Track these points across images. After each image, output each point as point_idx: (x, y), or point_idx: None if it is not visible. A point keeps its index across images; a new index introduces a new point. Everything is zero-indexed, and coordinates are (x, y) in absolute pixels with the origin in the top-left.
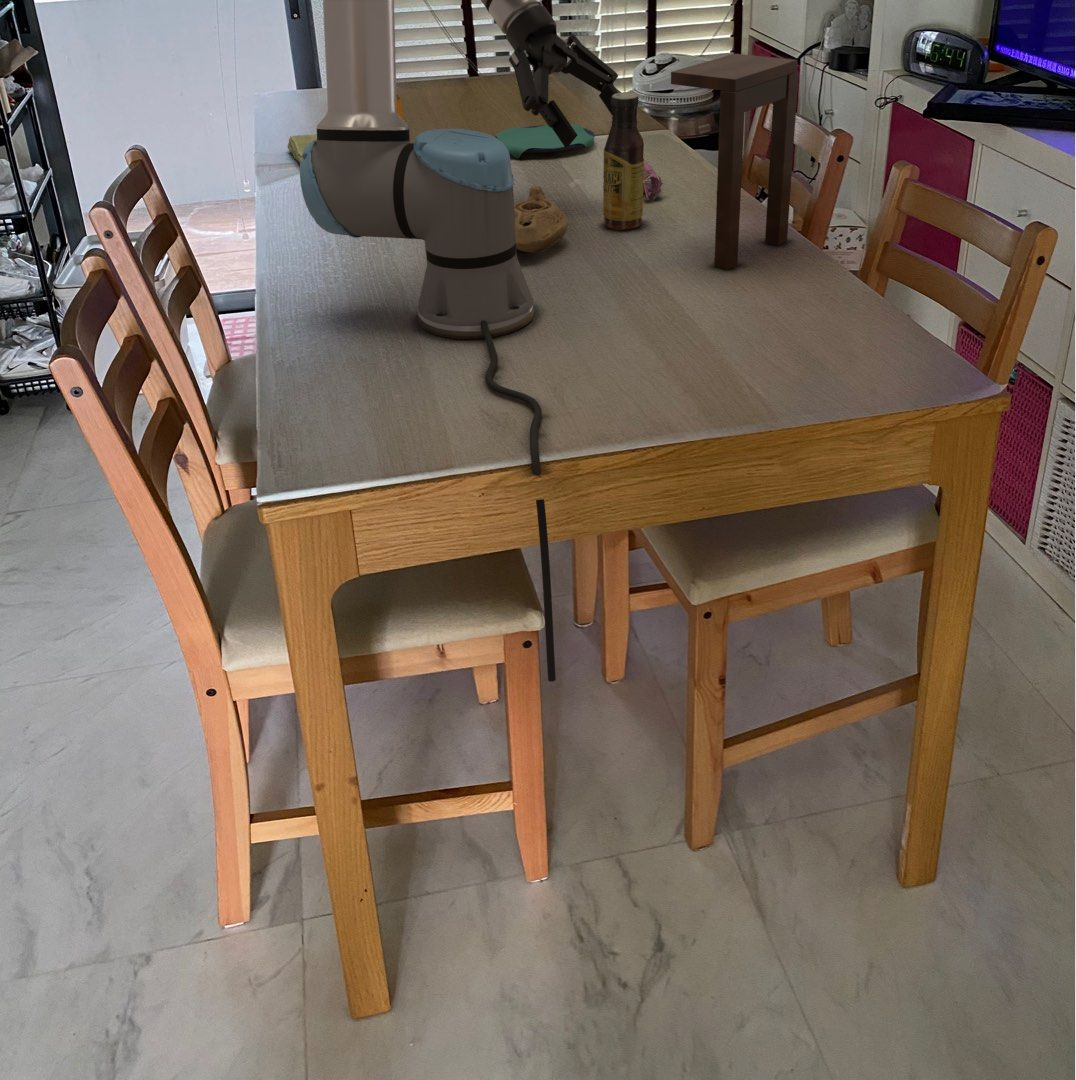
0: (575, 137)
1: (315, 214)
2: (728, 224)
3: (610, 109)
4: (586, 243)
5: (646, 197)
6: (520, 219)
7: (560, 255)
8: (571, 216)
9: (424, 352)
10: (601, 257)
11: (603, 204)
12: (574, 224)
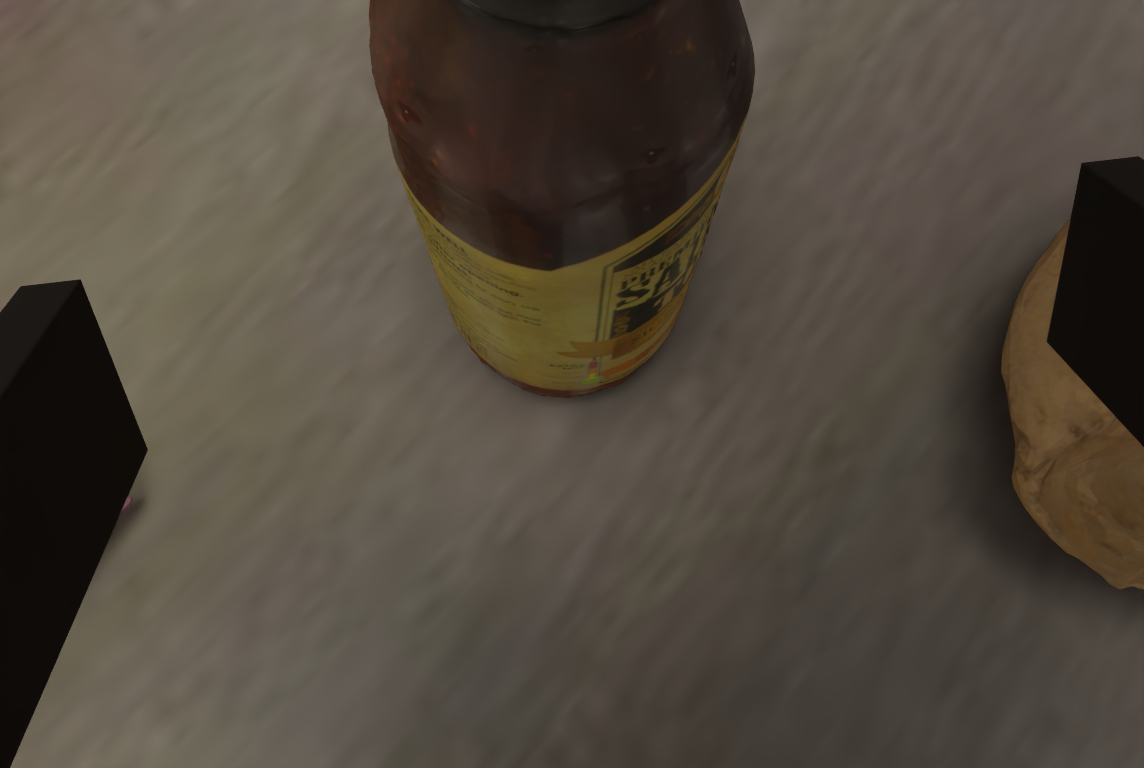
0: (1079, 201)
1: None
2: None
3: (54, 612)
4: (916, 225)
5: (128, 505)
6: None
7: None
8: (644, 669)
9: None
10: (1002, 15)
11: (670, 323)
12: (739, 530)
